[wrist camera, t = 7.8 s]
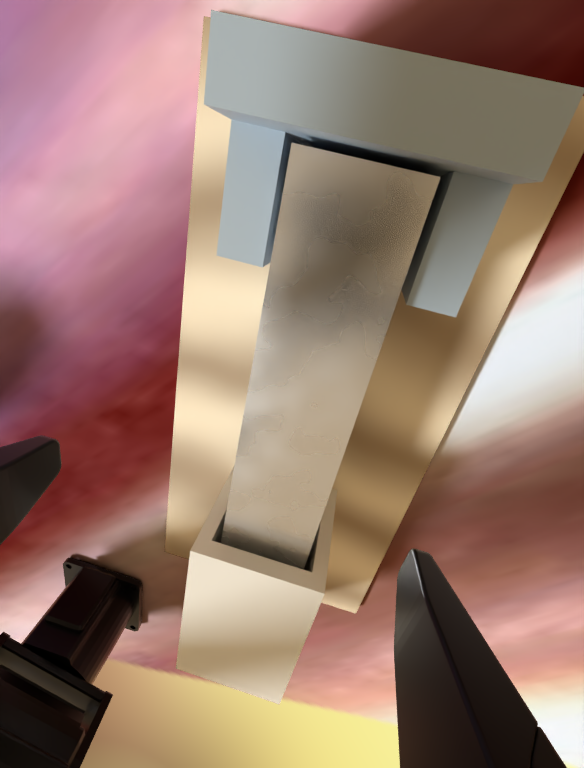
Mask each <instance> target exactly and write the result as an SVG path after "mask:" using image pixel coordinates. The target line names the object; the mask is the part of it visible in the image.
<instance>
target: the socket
mask: <svg viewBox="0 0 584 768" xmlns="http://www.w3.org/2000/svg"><path fill="white" fill-rule="evenodd" d="M583 94H584V88H583V87H578V86H573V85H568V84H563V83H559V82H554V81H549V80H544V79H539V78H535V77H530V76H525V75H520V74H516V73H511V72H506V71H501V70H496V69H492V68H487V67H482V66H477V65H472V64H468V63H463V62H458V61H453V60H448V59H444V58H439V57H434V56H429V55H424V54H420V53H415V52H410V51H405V50H400V49H396V48H391V47H386V46H381V45H377V44H372V43H367V42H362V41H357V40H353V39H348V38H343V37H338V36H333V35H329V34H324V33H319V32H314V31H309V30H305V29H300V28H295V27H290V26H285V25H281V24H276V23H271V22H266V21H261V20H257V19H252V18H247V17H242V16H238V15H233V14H228V13H223V12H218V11H214V10H211V20H210V33H209V45H208V58H207V70H206V83H205V95H204V105H206V106H208V107H209V108H211V109H213V110H215V111H217V112H219V113H220V114H222V115H224V116H226V117H228V118H229V119H231V129H230V138H229V147H228V156H227V165H226V174H225V183H224V192H223V201H222V210H221V219H220V228H219V237H218V246H217V255H216V256H220V257H224V258H228V259H232V260H236V261H240V262H243V263H247V264H251V265H255V266H259V267H264V266H266V265H267V264H269V263H270V262H271V256H272V251H273V245H274V239H275V234H276V228H277V222H278V217H279V211H280V206H281V200H282V194H283V189H284V183H285V177H286V172H287V166H288V160H289V155H290V149H291V143H296V144H300V145H305V146H309V147H313V148H317V149H322V150H326V151H330V152H335V153H339V154H343V155H348V156H352V157H356V158H361V159H365V160H369V161H373V162H378V163H382V164H386V165H391V166H395V167H399V168H404V169H408V170H412V171H417V172H421V173H425V174H430V175H434V176H438V177H441V178H440V180H439V183H438V186H437V189H436V192H435V195H434V198H433V201H432V203H431V206H430V209H429V212H428V215H427V218H426V221H425V223H424V226H423V229H422V232H421V235H420V238H419V241H418V243H417V246H416V249H415V252H414V255H413V258H412V261H411V264H410V266H409V269H408V272H407V275H406V278H405V281H404V284H403V286H402V289H401V290H402V293H403V296H404V300H405V303H406V305H409V306H413V307H417V308H421V309H425V310H429V311H433V312H437V313H440V314H444V315H448V316H452V317H456V316H457V313H458V311H459V309H460V307H461V304H462V302H463V300H464V297H465V295H466V293H467V290H468V288H469V286H470V283H471V281H472V279H473V277H474V274H475V272H476V270H477V267H478V265H479V263H480V260H481V258H482V256H483V253H484V251H485V249H486V247H487V244H488V242H489V240H490V237H491V235H492V233H493V230H494V228H495V226H496V223H497V221H498V219H499V217H500V214H501V212H502V210H503V207H504V205H505V203H506V200H507V198H508V196H509V193H510V191H511V189H512V187H513V184H524V183H535V182H543V180H544V178H545V176H546V173H547V171H548V169H549V167H550V165H551V163H552V161H553V158H554V156H555V154H556V152H557V150H558V148H559V145H560V143H561V141H562V139H563V137H564V135H565V133H566V130H567V128H568V126H569V124H570V122H571V120H572V117H573V115H574V113H575V111H576V109H577V107H578V105H579V102H580V100H581V98H582V96H583Z"/></svg>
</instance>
